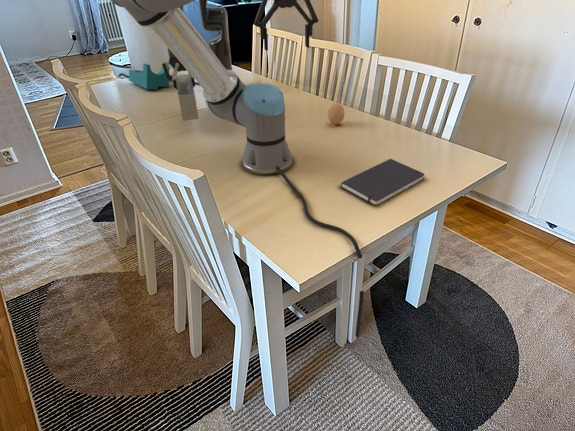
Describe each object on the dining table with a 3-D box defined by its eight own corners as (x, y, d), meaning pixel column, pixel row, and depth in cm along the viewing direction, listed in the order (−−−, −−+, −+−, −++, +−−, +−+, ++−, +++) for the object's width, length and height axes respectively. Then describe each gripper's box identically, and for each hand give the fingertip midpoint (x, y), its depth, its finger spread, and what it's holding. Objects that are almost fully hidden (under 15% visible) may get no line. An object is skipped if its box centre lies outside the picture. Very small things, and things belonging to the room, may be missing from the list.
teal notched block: (168, 89, 190) (169, 66, 185) (146, 89, 182) (147, 65, 178) (150, 81, 201) (150, 59, 196) (129, 80, 193) (129, 57, 189)
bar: (198, 118, 143) (194, 93, 138) (182, 120, 142) (178, 95, 137) (193, 96, 163) (189, 73, 158) (179, 98, 162) (175, 75, 157)
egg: (332, 128, 146) (333, 107, 141) (324, 122, 150) (325, 101, 146) (346, 125, 148) (348, 104, 143) (338, 119, 152) (339, 99, 148)
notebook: (389, 163, 124) (340, 187, 113) (390, 158, 123) (341, 182, 112) (424, 178, 116) (375, 206, 105) (425, 174, 115) (376, 201, 104)
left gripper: (196, 38, 152) (202, 83, 162) (156, 41, 149) (165, 87, 159) (197, 42, 146) (204, 89, 156) (156, 46, 143) (166, 93, 153)
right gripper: (322, -31, 124) (321, 42, 136) (241, -27, 120) (247, 48, 133) (329, -29, 118) (326, 48, 130) (244, -25, 114) (250, 53, 127)
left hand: (184, 88), depth 157 cm, fingers closed on bar, 5 cm apart
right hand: (286, 48), depth 132 cm, fingers open, 13 cm apart
